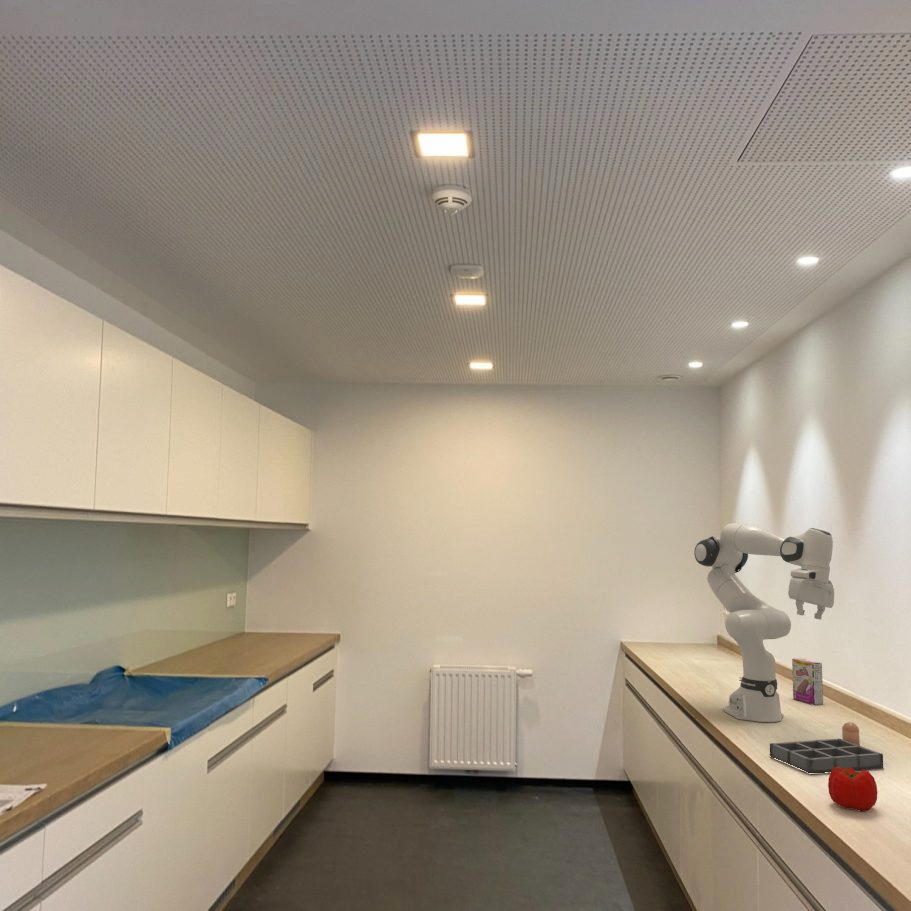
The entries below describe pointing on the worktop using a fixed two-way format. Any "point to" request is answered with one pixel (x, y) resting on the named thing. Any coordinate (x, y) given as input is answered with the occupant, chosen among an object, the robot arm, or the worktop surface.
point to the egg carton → (826, 755)
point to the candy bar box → (807, 681)
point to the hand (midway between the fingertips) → (809, 617)
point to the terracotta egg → (851, 733)
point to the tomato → (852, 788)
